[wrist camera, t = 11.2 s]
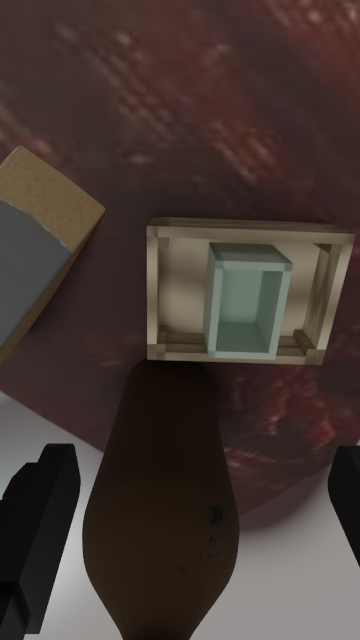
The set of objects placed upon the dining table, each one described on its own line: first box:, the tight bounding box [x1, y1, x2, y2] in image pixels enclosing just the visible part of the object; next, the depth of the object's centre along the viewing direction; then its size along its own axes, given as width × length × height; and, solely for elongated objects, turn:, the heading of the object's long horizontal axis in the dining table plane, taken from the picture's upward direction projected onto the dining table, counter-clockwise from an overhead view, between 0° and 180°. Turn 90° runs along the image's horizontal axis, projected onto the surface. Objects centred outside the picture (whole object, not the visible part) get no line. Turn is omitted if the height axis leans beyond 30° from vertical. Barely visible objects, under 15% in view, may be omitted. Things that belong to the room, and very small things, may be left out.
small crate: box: [203, 242, 293, 360], centre depth 28 cm, size 8×6×6 cm
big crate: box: [147, 217, 356, 365], centre depth 29 cm, size 12×16×5 cm
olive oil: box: [82, 359, 239, 640], centre depth 25 cm, size 11×11×25 cm
